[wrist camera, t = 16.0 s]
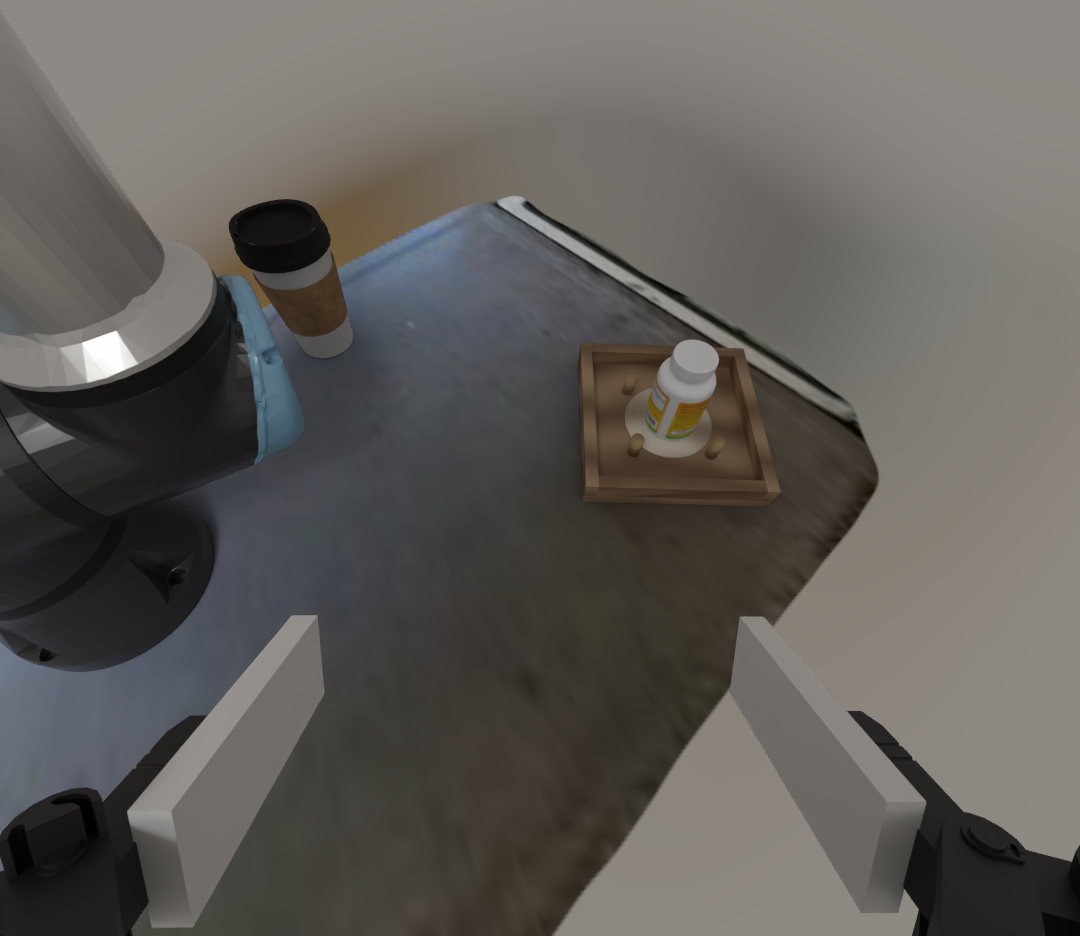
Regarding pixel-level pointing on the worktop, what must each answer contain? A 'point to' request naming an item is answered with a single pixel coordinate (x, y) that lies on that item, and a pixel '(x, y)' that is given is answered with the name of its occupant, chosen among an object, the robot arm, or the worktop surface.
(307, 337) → the coffee cup
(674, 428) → the supplement bottle
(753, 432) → the pin tray
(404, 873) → the worktop surface
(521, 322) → the worktop surface
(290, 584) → the worktop surface
